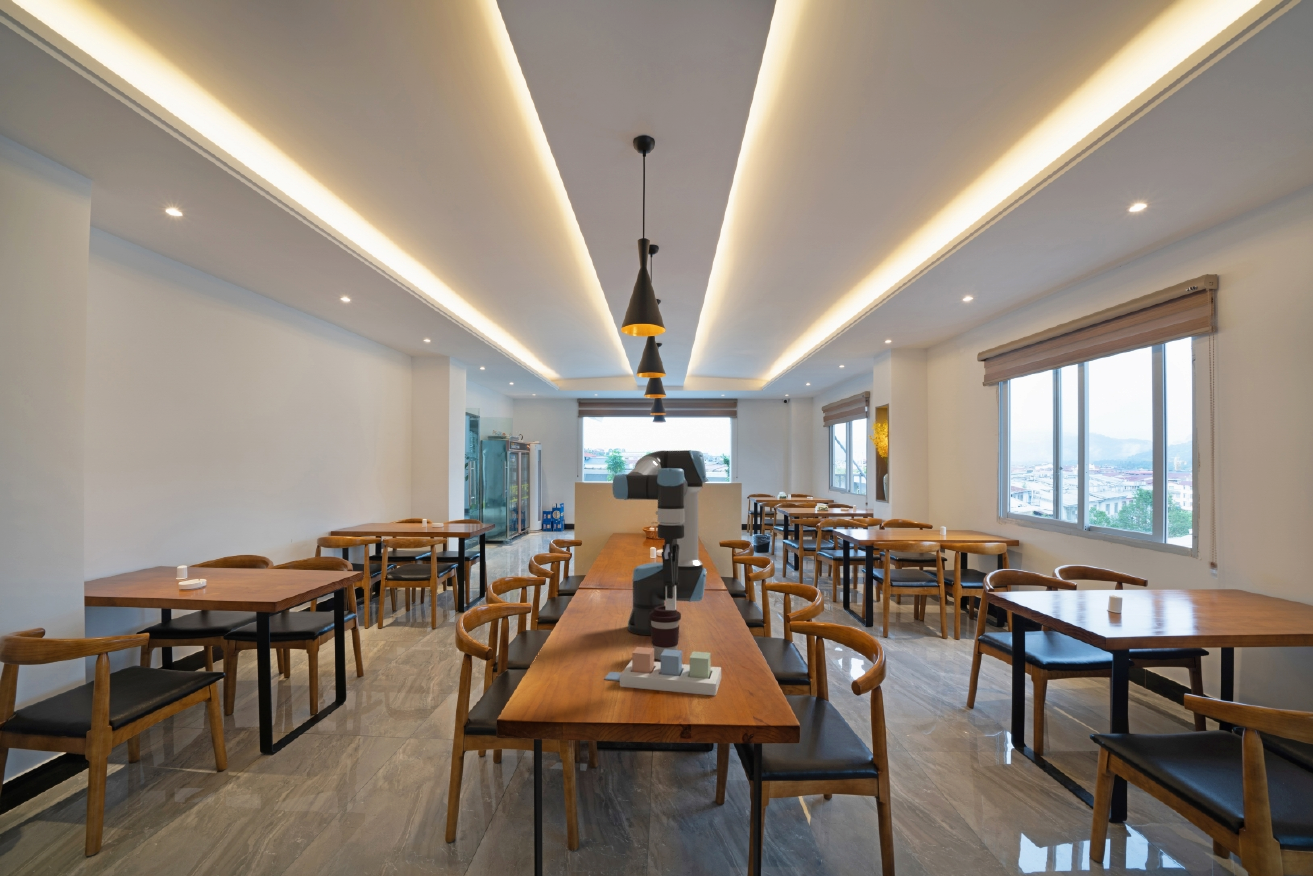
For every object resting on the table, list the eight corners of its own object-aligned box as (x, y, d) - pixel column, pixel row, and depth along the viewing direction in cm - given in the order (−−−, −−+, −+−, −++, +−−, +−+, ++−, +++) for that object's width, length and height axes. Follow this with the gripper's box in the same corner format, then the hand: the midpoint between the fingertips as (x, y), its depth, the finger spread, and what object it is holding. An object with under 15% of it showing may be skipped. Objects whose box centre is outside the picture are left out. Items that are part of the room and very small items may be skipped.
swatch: (610, 673, 161) (610, 671, 161) (626, 674, 160) (626, 673, 160) (604, 679, 157) (604, 678, 157) (621, 681, 155) (621, 679, 155)
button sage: (692, 670, 156) (692, 651, 156) (710, 672, 155) (710, 652, 155) (689, 677, 151) (689, 657, 151) (708, 678, 150) (708, 659, 150)
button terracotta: (637, 665, 160) (637, 647, 160) (654, 667, 159) (654, 648, 159) (632, 672, 155) (632, 652, 155) (649, 673, 154) (649, 654, 154)
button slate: (664, 668, 158) (664, 649, 158) (682, 669, 157) (682, 650, 157) (660, 674, 153) (660, 655, 153) (678, 676, 152) (678, 656, 152)
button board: (631, 670, 164) (631, 659, 164) (721, 678, 158) (721, 667, 158) (619, 686, 152) (619, 675, 152) (715, 695, 146) (715, 684, 146)
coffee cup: (678, 664, 169) (678, 613, 169) (645, 661, 171) (646, 611, 171) (683, 653, 178) (683, 605, 179) (652, 650, 180) (652, 603, 181)
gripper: (662, 521, 164) (662, 603, 163) (652, 525, 151) (652, 614, 150) (688, 521, 162) (688, 604, 161) (679, 526, 149) (679, 616, 148)
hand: (670, 609), depth 155 cm, fingers closed
